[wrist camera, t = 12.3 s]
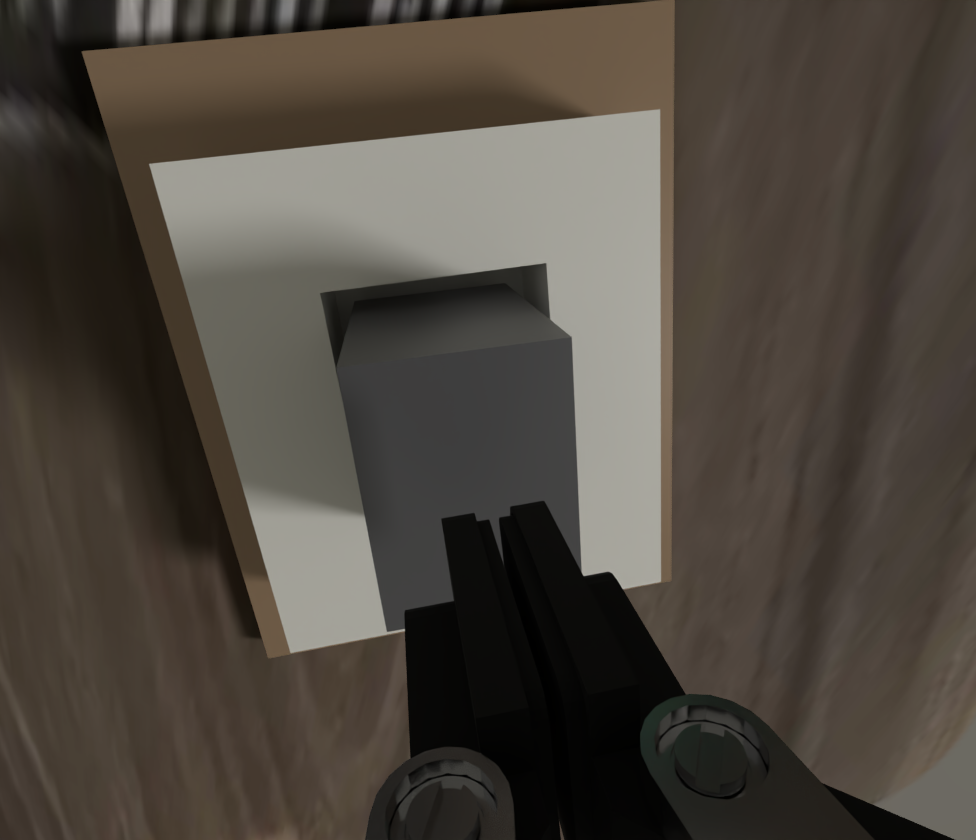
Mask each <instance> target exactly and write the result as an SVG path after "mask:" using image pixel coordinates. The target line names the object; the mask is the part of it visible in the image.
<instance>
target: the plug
mask: <svg viewBox="0 0 976 840" xmlns="http://www.w3.org/2000/svg"><path fill="white" fill-rule="evenodd" d="M336 369H337V374H338V379H339V385H340V390H341V395H342V400H343V405H344V411H345V416H346V421H347V426H348V432H349V437H350V442H351V447H352V453H353V458H354V463H355V468H356V473H357V479H358V484H359V489H360V494H361V500H362V505H363V510H364V515H365V521H366V526H367V531H368V536H369V541H370V547H371V552H372V557H373V562H374V568H375V573H376V578H377V583H378V588H379V594H380V599H381V604H382V609H383V615H384V620H385V625H386V630H387V632H390V631H396V630H401V629H405V621H404V612H405V610H408V609H414V608H419V607H424V606H430V605H435V604H440V603H445V602H451V601H454V599H453V592H452V586H451V579H450V573H449V567H448V560H447V554H446V547H445V541H444V535H443V528H442V522H441V518H447V517H453V516H458V515H464V514H470V513H475V516H476V520H477V521H482V520H487V519H489V520H490V523H491V526H492V529H493V533H494V536H495V539H496V542H497V545H498V548H499V551H500V555H501V558H502V561H503V553H502V544H501V536H500V527H499V517H504V516H510V507H511V506H515V505H521V504H527V503H533V502H538V501H545V503H546V504H547V506H548V508H549V510H550V512H551V514H552V516H553V518H554V520H555V522H556V524H557V526H558V528H559V530H560V531H561V533H562V535H563V537H564V539H565V541H566V543H567V545H568V547H569V549H570V551H571V553H572V555H573V557H574V559H575V560H576V562H577V564H578V566H579V568H580V570H581V572H582V568H581V544H580V521H579V497H578V473H577V449H576V425H575V401H574V377H573V353H572V337H571V336H570V335H569V334H567V333H566V332H565V331H564V330H562V329H561V328H560V327H559V326H557V325H556V324H555V323H554V322H553V321H551V320H550V319H549V318H548V317H546V316H545V315H544V314H543V313H541V312H540V311H539V310H538V309H536V308H535V307H534V306H533V305H532V304H530V303H529V302H528V301H527V300H525V299H524V298H523V297H522V296H520V295H519V294H518V293H517V292H515V291H514V290H513V289H512V288H511V287H509V286H508V285H507V284H506V283H502V284H493V285H485V286H476V287H468V288H460V289H451V290H443V291H434V292H426V293H418V294H409V295H401V296H392V297H384V298H375V299H367V300H359V301H354V305H353V309H352V312H351V316H350V320H349V323H348V327H347V331H346V334H345V338H344V341H343V345H342V349H341V352H340V356H339V360H338V363H337V367H336ZM503 564H504V561H503Z"/></svg>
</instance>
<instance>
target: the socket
mask: <svg viewBox="0 0 976 840" xmlns="http://www.w3.org/2000/svg"><path fill="white" fill-rule="evenodd" d="M674 8H675V0H662V1H651V2H640V3H628V4H617V5H605V6H594V7H582V8H571V9H559V10H548V11H537V12H525V13H514V14H502V15H491V16H479V17H468V18H457V19H445V20H434V21H422V22H411V23H399V24H388V25H377V26H365V27H354V28H342V29H331V30H319V31H308V32H296V33H285V34H274V35H262V36H251V37H239V38H228V39H216V40H205V41H194V42H182V43H171V44H159V45H148V46H136V47H125V48H113V49H102V50H91V51H82V54H83V57H84V61H85V64H86V67H87V70H88V74H89V77H90V80H91V83H92V87H93V90H94V93H95V96H96V100H97V103H98V106H99V109H100V113H101V116H102V119H103V122H104V126H105V129H106V132H107V135H108V139H109V142H110V145H111V148H112V152H113V155H114V158H115V161H116V165H117V168H118V171H119V175H120V178H121V181H122V184H123V188H124V191H125V194H126V197H127V201H128V204H129V207H130V210H131V214H132V217H133V220H134V223H135V227H136V230H137V233H138V236H139V240H140V243H141V246H142V249H143V253H144V256H145V259H146V262H147V266H148V269H149V272H150V275H151V279H152V282H153V285H154V288H155V292H156V295H157V298H158V301H159V305H160V308H161V311H162V314H163V318H164V321H165V324H166V327H167V331H168V334H169V337H170V340H171V344H172V347H173V350H174V353H175V357H176V360H177V363H178V366H179V370H180V373H181V376H182V379H183V383H184V386H185V389H186V392H187V396H188V399H189V402H190V405H191V409H192V412H193V415H194V418H195V422H196V425H197V428H198V431H199V435H200V438H201V441H202V444H203V448H204V451H205V454H206V457H207V461H208V464H209V467H210V470H211V474H212V477H213V480H214V483H215V487H216V490H217V493H218V496H219V500H220V503H221V506H222V509H223V513H224V516H225V519H226V522H227V526H228V529H229V532H230V535H231V539H232V542H233V545H234V548H235V552H236V555H237V558H238V561H239V565H240V568H241V571H242V574H243V578H244V581H245V584H246V587H247V591H248V594H249V597H250V600H251V604H252V607H253V610H254V613H255V617H256V620H257V623H258V626H259V630H260V633H261V636H262V639H263V643H264V646H265V649H266V652H267V656H268V658H273V657H278V656H283V655H288V654H294V653H299V652H304V651H309V650H314V649H320V648H325V647H330V646H335V645H340V644H346V643H351V642H356V641H361V640H366V639H372V638H377V637H382V636H387V635H392V634H398V633H403V632H405V629H401V630H396V631H390V632H387V630H386V625H385V620H384V615H383V609H382V604H381V599H380V594H379V588H378V583H377V578H376V573H375V568H374V562H373V557H372V552H371V547H370V541H369V536H368V531H367V526H366V521H365V515H364V510H363V505H362V500H361V494H360V489H359V484H358V479H357V473H356V468H355V463H354V458H353V453H352V447H351V442H350V437H349V432H348V426H347V421H346V416H345V411H344V405H343V400H342V395H341V390H340V385H339V379H338V374H337V369H336V367H337V363H338V360H339V356H340V352H341V349H342V345H343V341H344V338H345V334H346V331H347V327H348V323H349V320H350V316H351V312H352V309H353V305H354V301H359V300H367V299H375V298H384V297H392V296H401V295H409V294H418V293H426V292H434V291H443V290H451V289H460V288H468V287H476V286H485V285H493V284H502V283H506V284H507V285H508V286H509V287H511V288H512V289H513V290H514V291H515V292H517V293H518V294H519V295H520V296H522V297H523V298H524V299H525V300H527V301H528V302H529V303H530V304H532V305H533V306H534V307H535V308H536V309H538V310H539V311H540V312H541V313H543V314H544V315H545V316H546V317H548V318H549V319H550V320H551V321H553V322H554V323H555V324H556V325H557V326H559V327H560V328H561V329H562V330H564V331H565V332H566V333H567V334H569V335H570V336H571V337H572V353H573V377H574V401H575V425H576V449H577V473H578V497H579V521H580V544H581V568H582V574H583V576H587V575H593V574H598V573H603V572H610V573H612V574H613V575H614V576H615V578H616V579H617V581H618V582H619V584H620V586H621V587H622V589H623V590H626V589H632V588H637V587H642V586H647V585H652V584H658V583H663V582H668V581H671V533H672V358H673V183H674Z"/></svg>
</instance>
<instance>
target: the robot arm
mask: <svg viewBox="0 0 976 840" xmlns="http://www.w3.org/2000/svg"><path fill="white" fill-rule="evenodd" d="M441 522H442V528H443V535H444V541H445V547H446V554H447V560H448V567H449V573H450V579H451V586H452V592H453V599H454V601H451V602H445V603H440V604H435V605H430V606H424V607H419V608H414V609H408V610H405V612H404V621H405V643H406V666H407V688H408V711H409V733H410V756H411V759H409V760H407V761H405V762H404V763H403V764H402V765H401V766H400V767H398V768H397V769H396V770H395V771H394V772H393V773H392V774H390V775H389V777H388V778H387V780H386V781H385V783H384V784H383V785H382V787H381V788H380V790H379V791H378V793H377V795H376V798H375V801H374V803H373V806H372V809H371V812H370V816H369V821H368V827H367V832H366V838H365V840H561V837H560V826H559V821H560V825H561V829H562V832H563V836H564V840H954V839H952V838H950V837H947V836H945V835H943V834H940V833H938V832H935V831H933V830H931V829H928V828H926V827H924V826H921V825H919V824H917V823H914V822H912V821H910V820H907V819H905V818H902V817H900V816H898V815H896V814H893V813H891V812H889V811H886V810H884V809H882V808H879V807H877V806H874V805H872V804H870V803H867V802H865V801H863V800H860V799H858V798H856V797H853V796H851V795H849V794H846V793H844V792H842V791H839V790H837V789H835V788H832V787H830V786H827V785H825V784H823V783H821V782H820V781H819V780H818V779H817V777H816V776H815V775H814V774H813V773H812V772H811V771H810V770H809V769H808V768H807V767H806V766H805V765H804V763H803V762H802V761H801V760H800V759H799V758H798V757H797V756H796V755H795V754H794V753H793V752H792V751H791V749H790V748H789V747H788V746H787V745H786V744H785V743H784V742H783V741H782V740H781V739H780V738H779V737H778V735H777V734H776V733H775V732H774V731H773V730H772V729H771V728H770V727H769V726H768V725H767V724H766V723H765V722H763V721H762V720H761V719H760V718H759V717H758V716H756V715H755V714H754V713H753V712H752V711H750V710H748V709H746V708H744V707H742V706H740V705H738V704H737V703H735V702H733V701H730V700H727V699H723V698H719V697H716V696H712V695H698V694H688V695H686V694H685V692H684V691H683V689H682V687H681V686H680V684H679V682H678V681H677V679H676V677H675V676H674V674H673V672H672V671H671V669H670V667H669V666H668V664H667V662H666V661H665V659H664V657H663V656H662V654H661V652H660V651H659V649H658V647H657V646H656V644H655V642H654V641H653V639H652V637H651V636H650V634H649V632H648V631H647V629H646V627H645V626H644V624H643V622H642V621H641V619H640V617H639V616H638V614H637V612H636V611H635V609H634V607H633V606H632V604H631V602H630V601H629V599H628V597H627V596H626V594H625V592H624V591H623V589H622V587H621V586H620V584H619V582H618V581H617V579H616V578H615V576H614V575H613V574H612V573H610V572H603V573H598V574H593V575H587V576H583V574H582V572H581V570H580V568H579V566H578V564H577V562H576V560H575V559H574V557H573V555H572V553H571V551H570V549H569V547H568V545H567V543H566V541H565V539H564V537H563V535H562V533H561V531H560V530H559V528H558V526H557V524H556V522H555V520H554V518H553V516H552V514H551V512H550V510H549V508H548V506H547V504H546V503H545V501H538V502H533V503H527V504H521V505H515V506H511V507H510V516H504V517H499V527H500V536H501V544H502V553H503V561H504V564H503V561H502V558H501V555H500V551H499V548H498V545H497V542H496V539H495V536H494V533H493V529H492V526H491V523H490V520H489V519H487V520H482V521H477V520H476V516H475V513H470V514H464V515H458V516H453V517H447V518H441Z"/></svg>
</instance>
